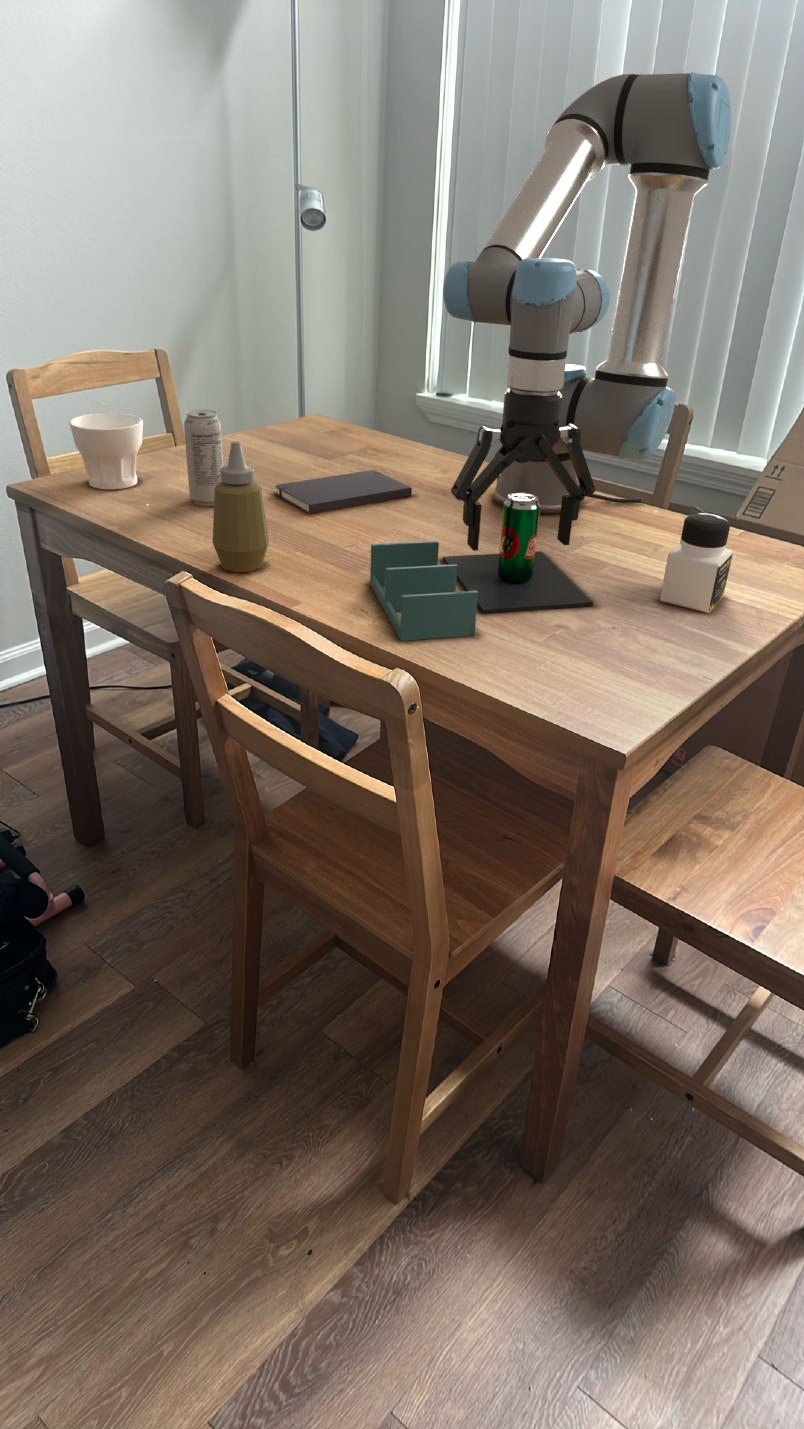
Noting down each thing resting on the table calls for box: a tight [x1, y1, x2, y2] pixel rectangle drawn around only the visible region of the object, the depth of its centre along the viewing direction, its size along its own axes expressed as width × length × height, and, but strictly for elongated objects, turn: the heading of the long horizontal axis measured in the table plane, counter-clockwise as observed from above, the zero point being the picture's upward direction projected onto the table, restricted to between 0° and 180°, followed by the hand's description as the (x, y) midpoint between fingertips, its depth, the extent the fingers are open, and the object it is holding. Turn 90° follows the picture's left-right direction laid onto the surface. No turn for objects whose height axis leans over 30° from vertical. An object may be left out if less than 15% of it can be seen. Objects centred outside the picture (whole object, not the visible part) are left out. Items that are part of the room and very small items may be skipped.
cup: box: [68, 412, 144, 491], centre depth 169 cm, size 12×12×11 cm
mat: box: [442, 550, 594, 614], centre depth 137 cm, size 16×20×1 cm
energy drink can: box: [183, 409, 224, 507], centre depth 160 cm, size 6×6×15 cm
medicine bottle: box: [659, 512, 734, 614], centre depth 131 cm, size 7×7×12 cm
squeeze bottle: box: [212, 440, 270, 573], centre depth 134 cm, size 8×8×18 cm
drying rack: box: [369, 540, 478, 642], centre depth 126 cm, size 10×19×6 cm, turn 14°
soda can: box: [497, 493, 541, 584], centre depth 134 cm, size 5×5×12 cm
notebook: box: [274, 469, 413, 514], centre depth 170 cm, size 13×2×21 cm
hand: (518, 544), depth 135 cm, fingers open, 13 cm apart
